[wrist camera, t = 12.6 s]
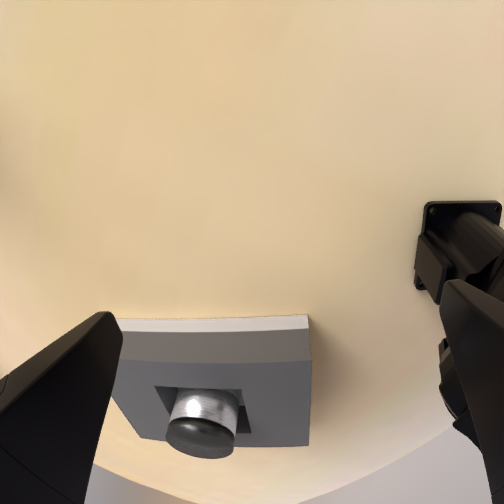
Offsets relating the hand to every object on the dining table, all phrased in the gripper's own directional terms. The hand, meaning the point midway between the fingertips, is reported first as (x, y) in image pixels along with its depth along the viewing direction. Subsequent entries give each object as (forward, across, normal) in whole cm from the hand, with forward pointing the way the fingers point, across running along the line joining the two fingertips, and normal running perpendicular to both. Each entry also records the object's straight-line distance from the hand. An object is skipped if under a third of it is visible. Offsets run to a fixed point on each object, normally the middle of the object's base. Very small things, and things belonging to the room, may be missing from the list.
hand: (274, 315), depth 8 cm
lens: (+10, +7, +16) cm, 20 cm away
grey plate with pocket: (+12, +7, +16) cm, 21 cm away
